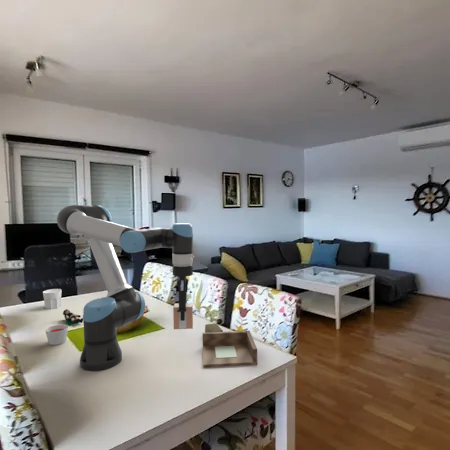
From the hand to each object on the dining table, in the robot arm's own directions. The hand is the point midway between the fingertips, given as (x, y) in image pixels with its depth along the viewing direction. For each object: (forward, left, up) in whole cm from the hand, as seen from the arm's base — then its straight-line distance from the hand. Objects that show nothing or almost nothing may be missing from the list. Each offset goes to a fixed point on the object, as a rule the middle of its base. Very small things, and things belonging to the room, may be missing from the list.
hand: (183, 325), depth 124 cm
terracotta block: (0, 0, 0) cm, 0 cm away
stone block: (+13, +22, -15) cm, 29 cm away
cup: (-82, +79, -14) cm, 114 cm away
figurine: (-60, +50, -15) cm, 80 cm away
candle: (-57, +25, -14) cm, 63 cm away
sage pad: (+16, +4, -13) cm, 21 cm away
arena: (+17, +4, -14) cm, 23 cm away
